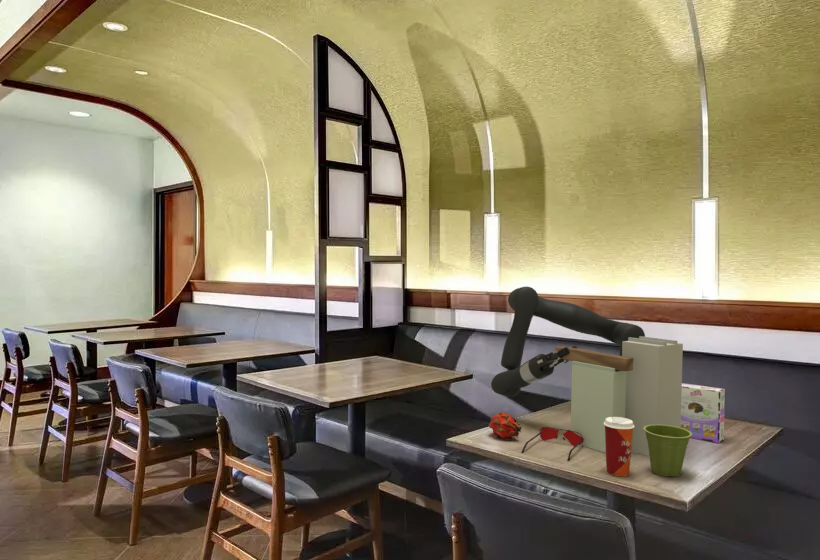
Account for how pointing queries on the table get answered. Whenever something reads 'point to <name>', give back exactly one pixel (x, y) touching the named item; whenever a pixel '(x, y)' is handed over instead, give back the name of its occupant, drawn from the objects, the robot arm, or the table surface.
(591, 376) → the sage box
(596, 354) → the walnut bar
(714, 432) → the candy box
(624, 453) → the paper cup
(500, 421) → the dragon fruit
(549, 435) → the glasses
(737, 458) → the table surface
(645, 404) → the grey stand
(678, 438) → the plant pot
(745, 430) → the table surface
